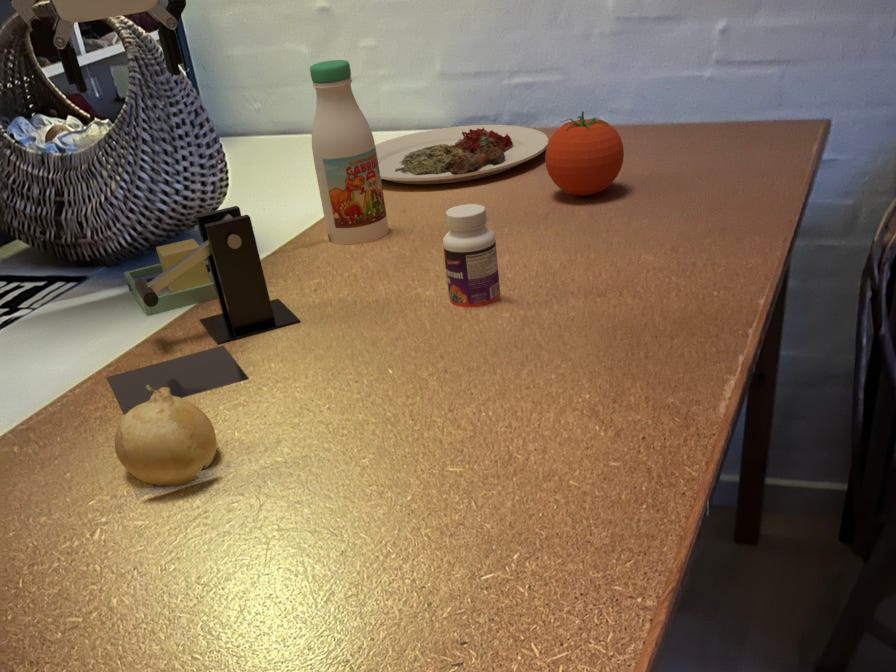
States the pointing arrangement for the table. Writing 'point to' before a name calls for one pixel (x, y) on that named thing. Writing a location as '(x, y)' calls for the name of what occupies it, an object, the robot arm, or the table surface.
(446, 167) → the plated food
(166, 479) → the onion
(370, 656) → the table surface
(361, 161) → the milk bottle
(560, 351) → the table surface
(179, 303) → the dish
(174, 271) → the lever
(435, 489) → the table surface
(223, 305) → the black lever stand
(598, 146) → the tomato
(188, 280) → the yellow rectangular block
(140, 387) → the board
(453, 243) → the pill bottle
